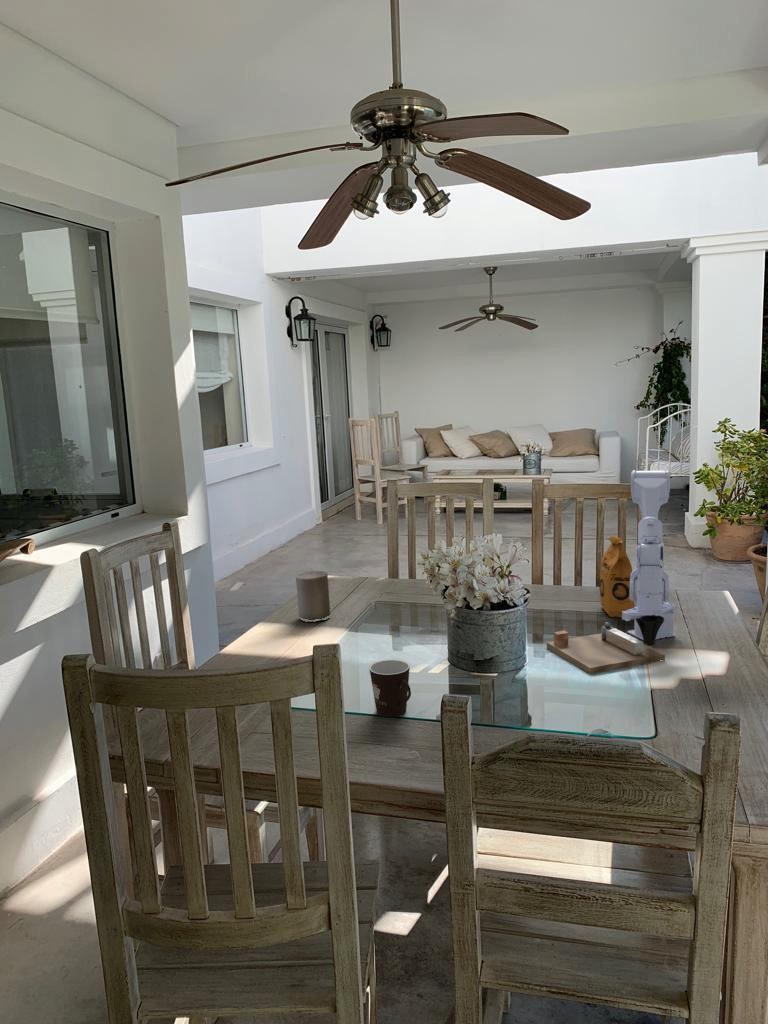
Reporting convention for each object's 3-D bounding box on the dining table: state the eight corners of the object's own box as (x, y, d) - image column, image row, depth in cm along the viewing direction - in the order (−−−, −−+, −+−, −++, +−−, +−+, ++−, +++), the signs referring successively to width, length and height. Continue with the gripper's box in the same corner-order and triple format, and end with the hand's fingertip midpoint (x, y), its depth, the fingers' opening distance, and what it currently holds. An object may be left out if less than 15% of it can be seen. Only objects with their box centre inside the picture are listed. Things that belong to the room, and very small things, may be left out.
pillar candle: (337, 615, 240) (333, 567, 238) (317, 624, 232) (314, 575, 229) (311, 612, 245) (308, 565, 243) (291, 620, 237) (288, 572, 235)
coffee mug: (370, 704, 173) (368, 661, 172) (409, 701, 174) (407, 658, 172) (374, 727, 162) (371, 681, 160) (415, 724, 163) (413, 678, 161)
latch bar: (598, 637, 204) (598, 622, 204) (609, 635, 205) (609, 620, 205) (633, 655, 191) (633, 638, 190) (644, 653, 192) (644, 636, 191)
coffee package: (602, 618, 226) (603, 543, 222) (597, 606, 238) (597, 534, 234) (638, 618, 224) (639, 543, 221) (631, 606, 236) (632, 534, 233)
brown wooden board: (616, 636, 210) (616, 620, 209) (664, 660, 191) (665, 642, 191) (546, 647, 204) (546, 631, 203) (590, 673, 185) (590, 655, 184)
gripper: (634, 599, 187) (634, 653, 190) (685, 591, 192) (684, 644, 194) (616, 592, 194) (616, 644, 196) (666, 584, 198) (665, 636, 201)
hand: (648, 644), depth 196 cm, fingers closed
